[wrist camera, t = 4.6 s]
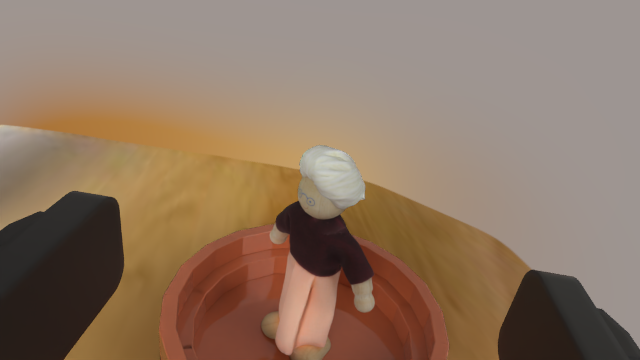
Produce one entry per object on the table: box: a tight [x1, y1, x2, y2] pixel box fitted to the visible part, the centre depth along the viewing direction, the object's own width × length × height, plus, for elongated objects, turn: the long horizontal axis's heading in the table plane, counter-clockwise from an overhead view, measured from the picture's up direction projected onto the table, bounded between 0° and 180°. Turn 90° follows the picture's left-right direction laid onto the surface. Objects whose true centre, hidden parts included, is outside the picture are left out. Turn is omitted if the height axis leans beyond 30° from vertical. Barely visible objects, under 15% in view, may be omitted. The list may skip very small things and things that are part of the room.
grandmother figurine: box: [261, 145, 375, 360], centre depth 23 cm, size 8×4×13 cm, turn 54°
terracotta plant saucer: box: [159, 224, 449, 360], centre depth 25 cm, size 16×16×4 cm
